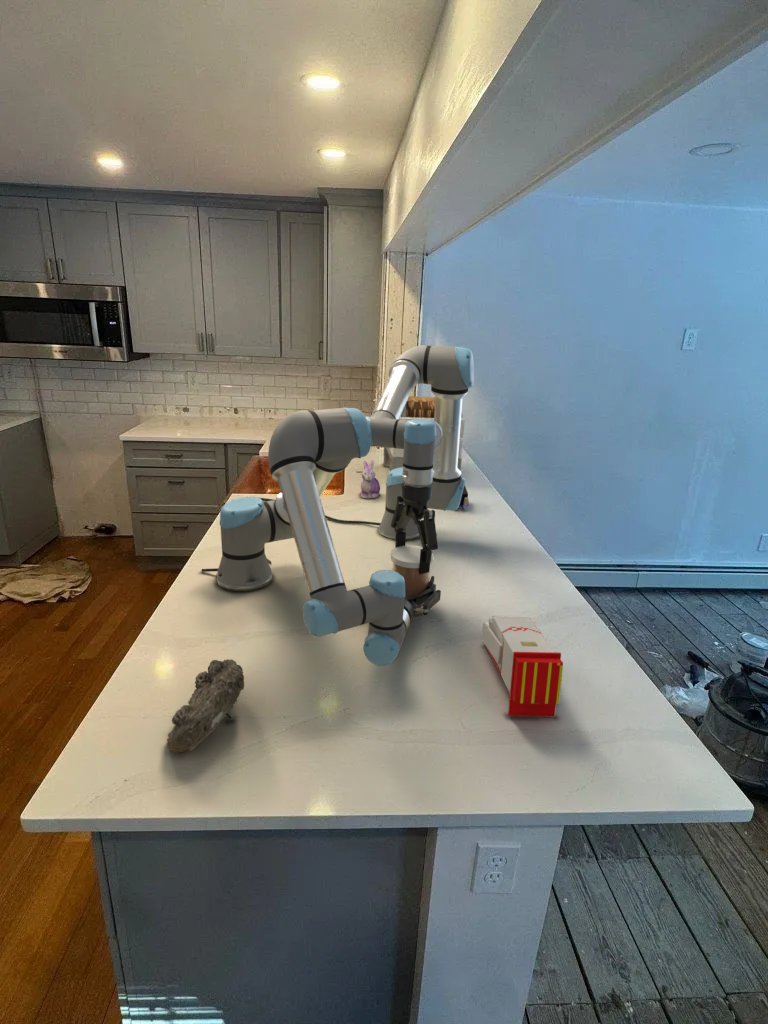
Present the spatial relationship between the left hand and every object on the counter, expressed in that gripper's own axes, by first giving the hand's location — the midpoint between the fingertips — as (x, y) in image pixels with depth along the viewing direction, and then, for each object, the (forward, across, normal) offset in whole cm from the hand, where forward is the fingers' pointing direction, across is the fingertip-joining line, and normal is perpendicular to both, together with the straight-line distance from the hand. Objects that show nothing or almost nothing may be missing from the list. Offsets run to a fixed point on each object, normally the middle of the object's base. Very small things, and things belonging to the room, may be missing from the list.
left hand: (413, 577), depth 154 cm
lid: (-4, 0, +9) cm, 10 cm away
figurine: (+82, -35, -6) cm, 90 cm away
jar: (-4, 0, -6) cm, 8 cm away
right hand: (-4, 0, +6) cm, 7 cm away
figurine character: (+83, +3, -6) cm, 83 cm away
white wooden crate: (+125, -21, -6) cm, 127 cm away
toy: (-27, +28, -6) cm, 40 cm away
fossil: (-59, -27, -6) cm, 65 cm away
